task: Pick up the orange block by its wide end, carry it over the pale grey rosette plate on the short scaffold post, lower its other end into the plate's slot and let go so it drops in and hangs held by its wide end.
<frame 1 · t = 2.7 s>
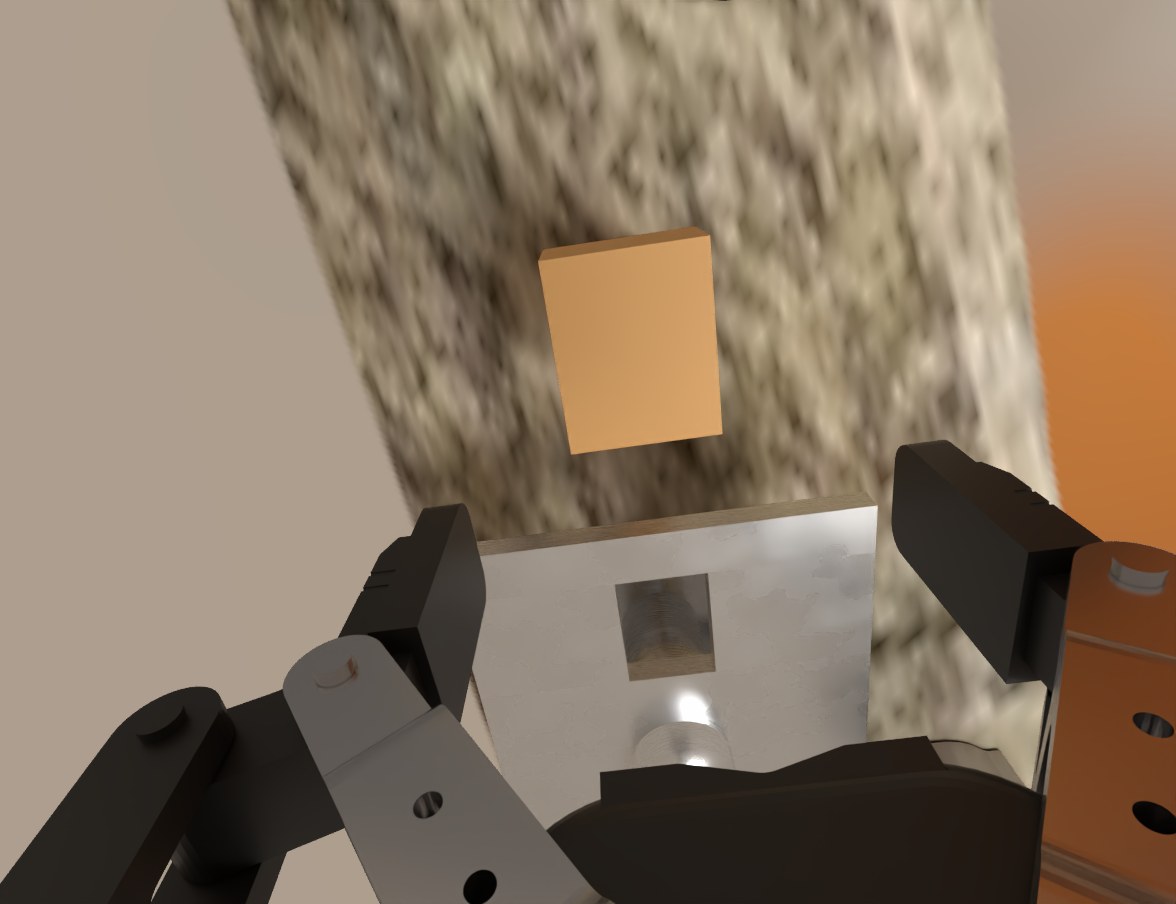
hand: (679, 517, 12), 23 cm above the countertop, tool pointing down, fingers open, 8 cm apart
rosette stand: (658, 613, 42), on the countertop
orange block: (617, 289, 33), on the countertop
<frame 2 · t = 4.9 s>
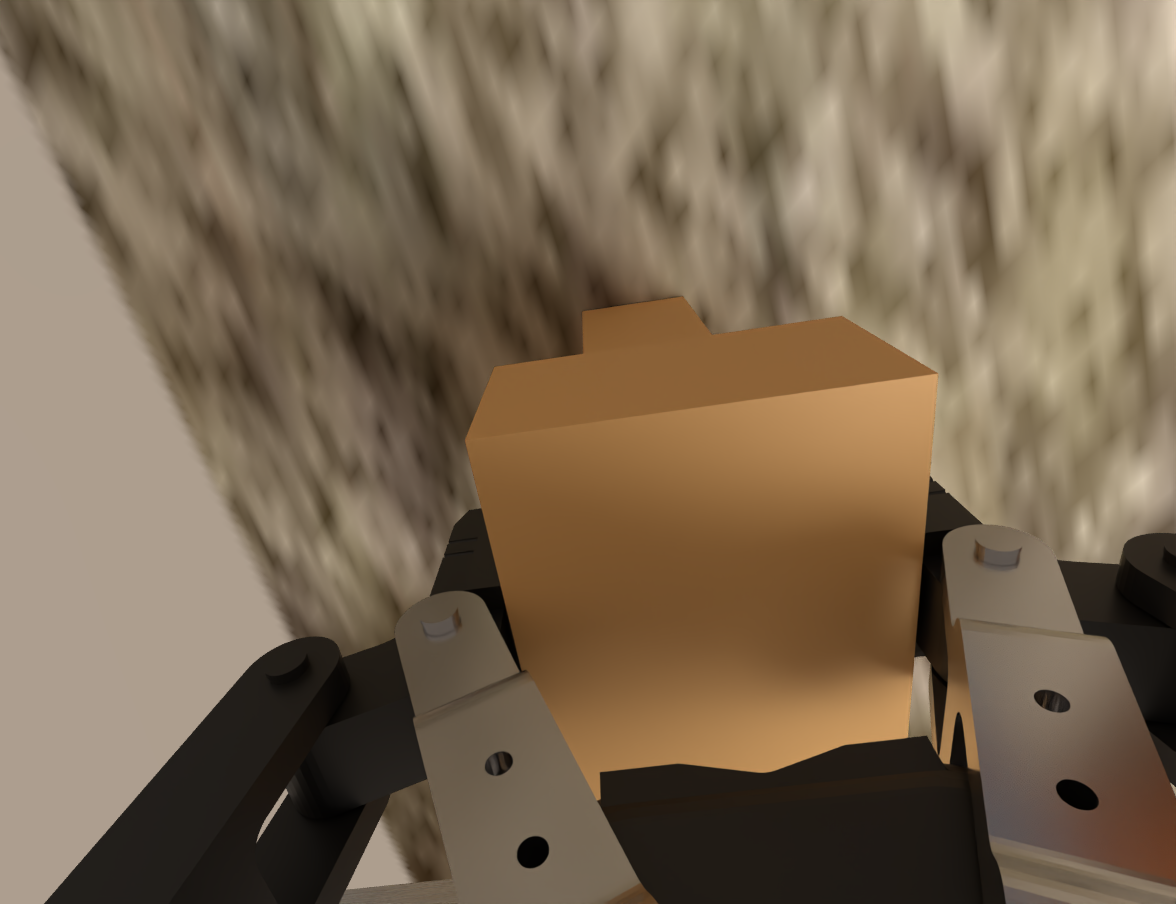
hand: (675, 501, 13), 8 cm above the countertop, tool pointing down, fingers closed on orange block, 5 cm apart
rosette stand: (693, 823, 29), on the countertop
orange block: (640, 376, 20), on the countertop, touching gripper
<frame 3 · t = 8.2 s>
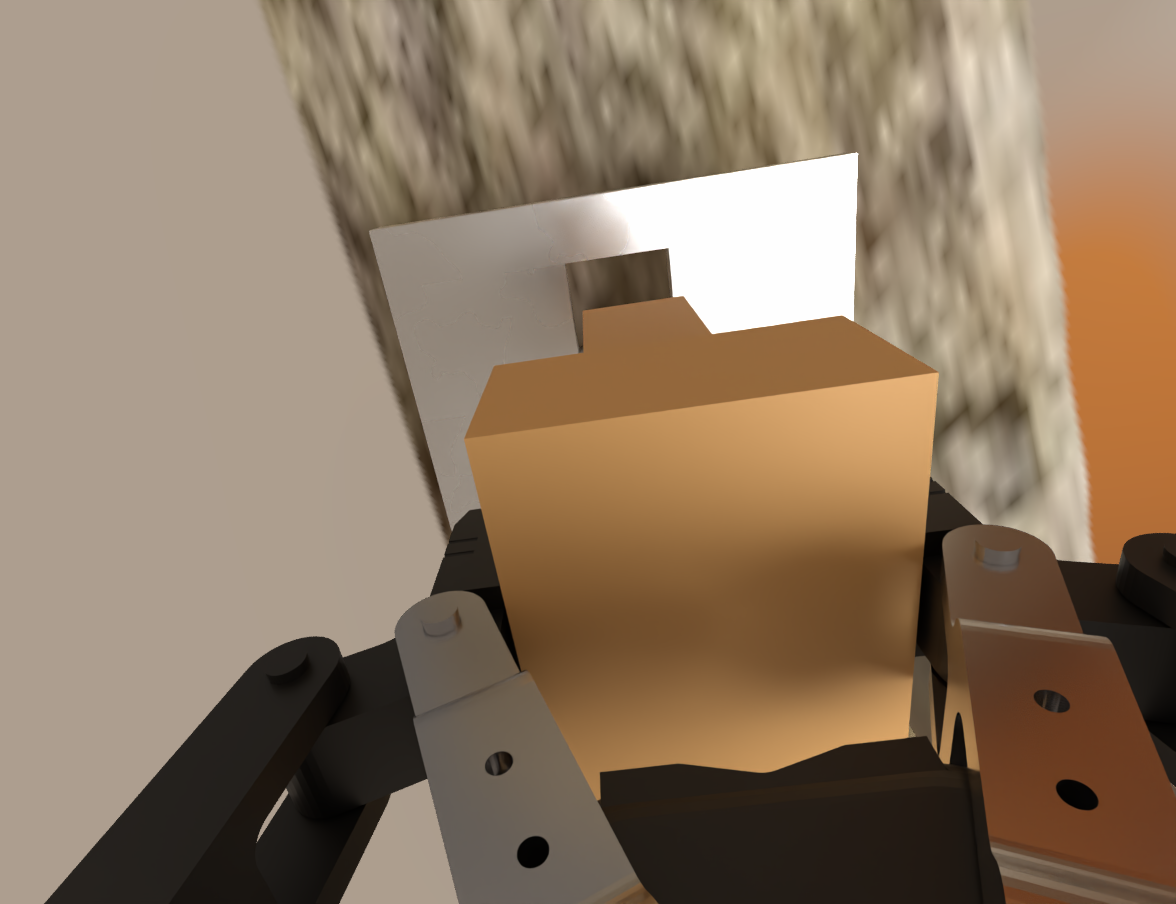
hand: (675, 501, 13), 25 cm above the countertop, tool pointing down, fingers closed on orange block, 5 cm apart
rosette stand: (629, 412, 39), on the countertop
orange block: (641, 375, 20), point 17 cm above the countertop, touching gripper
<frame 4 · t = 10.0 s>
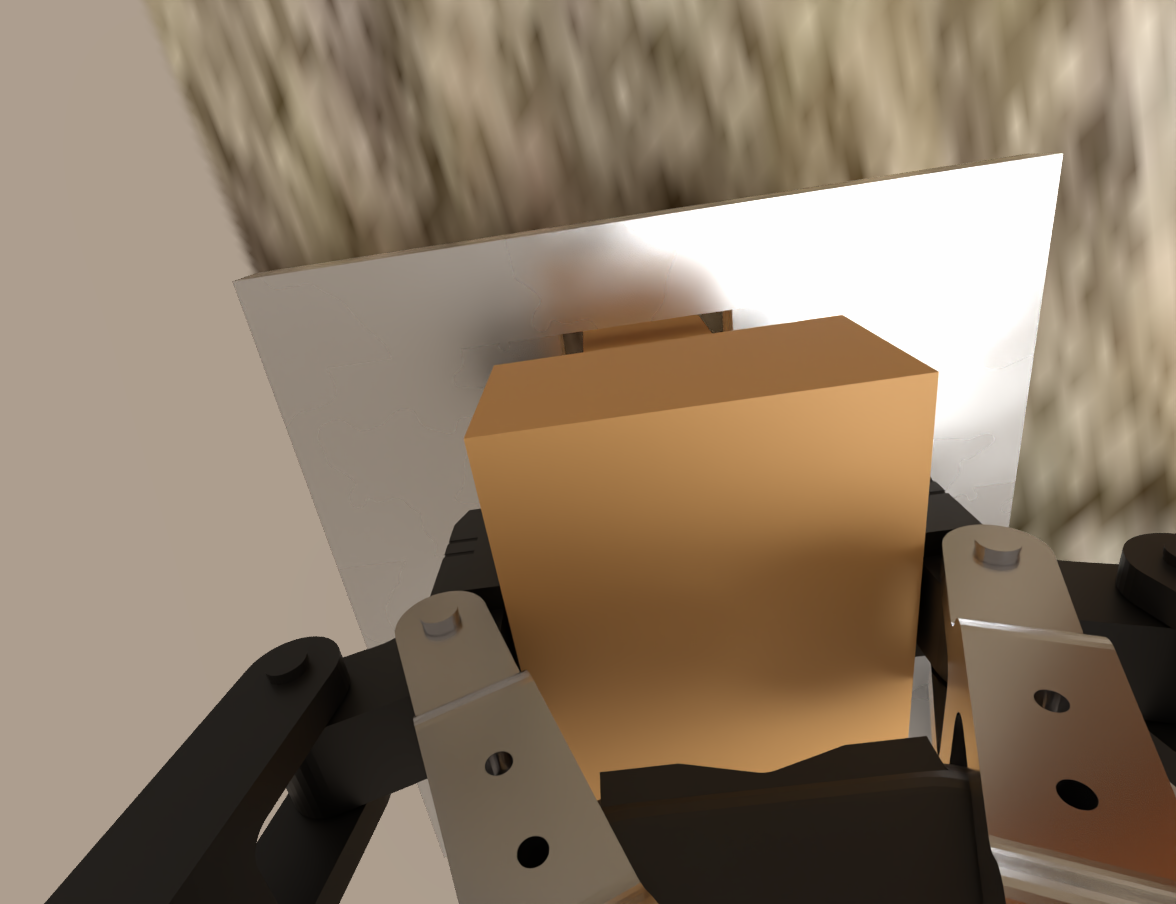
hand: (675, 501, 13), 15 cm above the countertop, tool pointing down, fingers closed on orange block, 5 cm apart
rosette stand: (649, 499, 29), on the countertop
orange block: (641, 375, 20), point 7 cm above the countertop, touching gripper
when the fingers open (12 cm above the countertop, at t = 11.4 s): orange block drops 2 cm, resting on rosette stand.
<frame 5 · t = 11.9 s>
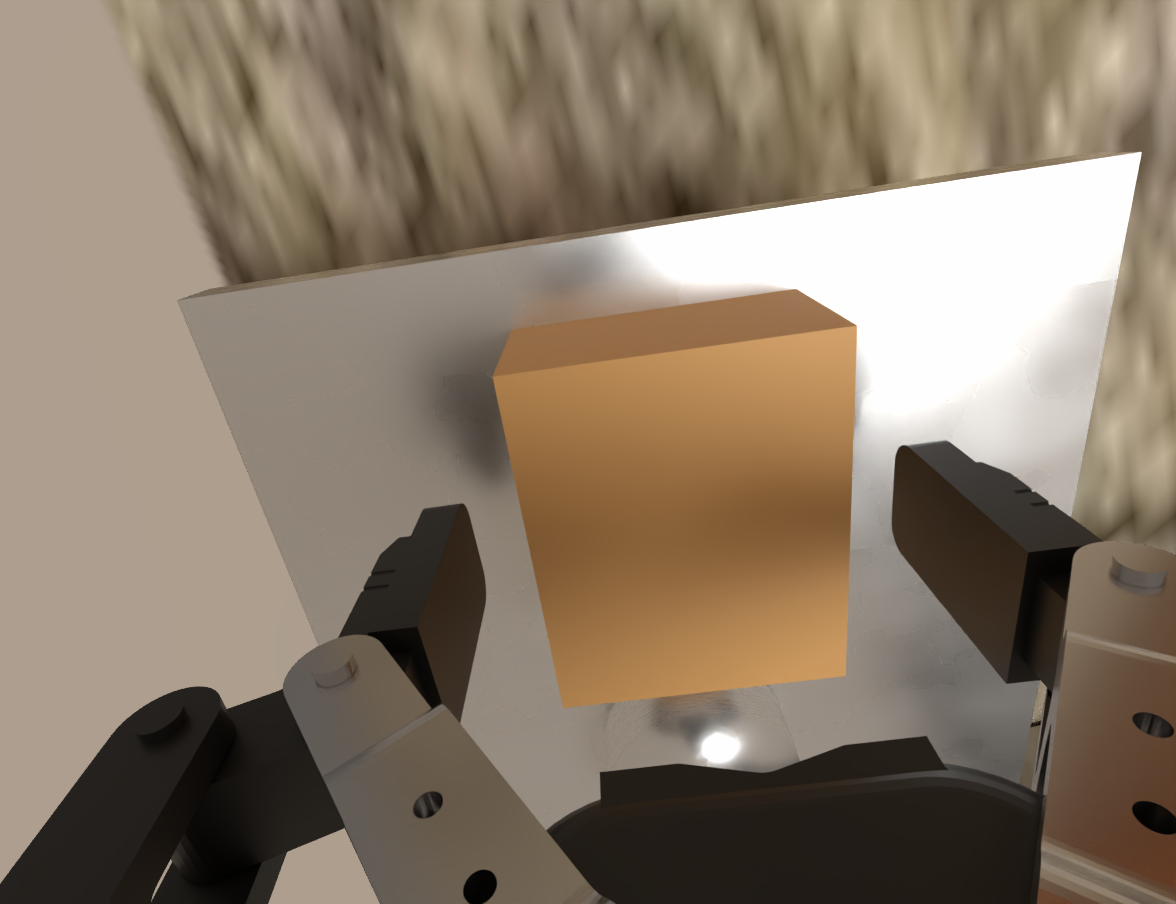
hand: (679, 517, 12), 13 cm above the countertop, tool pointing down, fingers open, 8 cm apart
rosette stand: (652, 521, 27), on the countertop
orange block: (636, 354, 22), point 2 cm above the countertop, touching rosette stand
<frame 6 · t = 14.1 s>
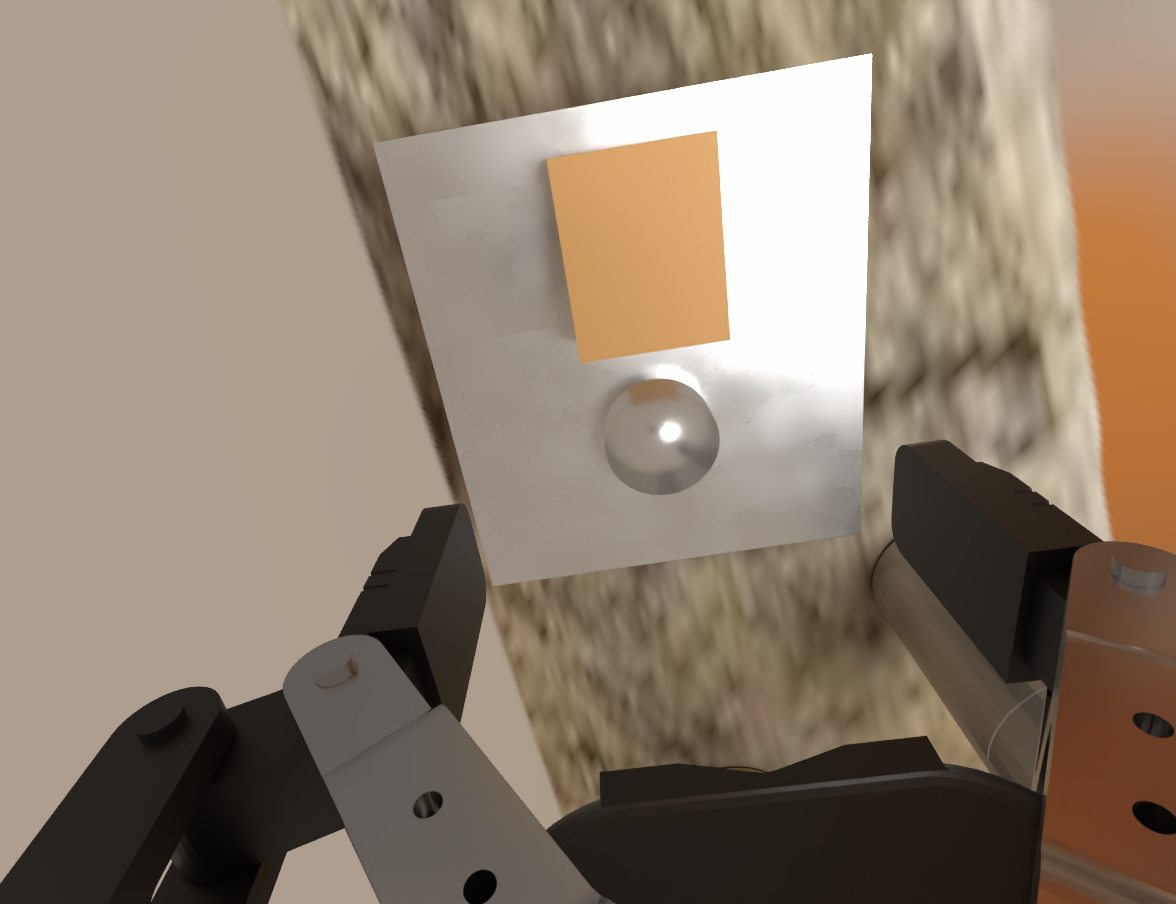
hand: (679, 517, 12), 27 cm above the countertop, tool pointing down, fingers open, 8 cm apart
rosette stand: (636, 357, 38), on the countertop
orange block: (621, 221, 33), point 2 cm above the countertop, touching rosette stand
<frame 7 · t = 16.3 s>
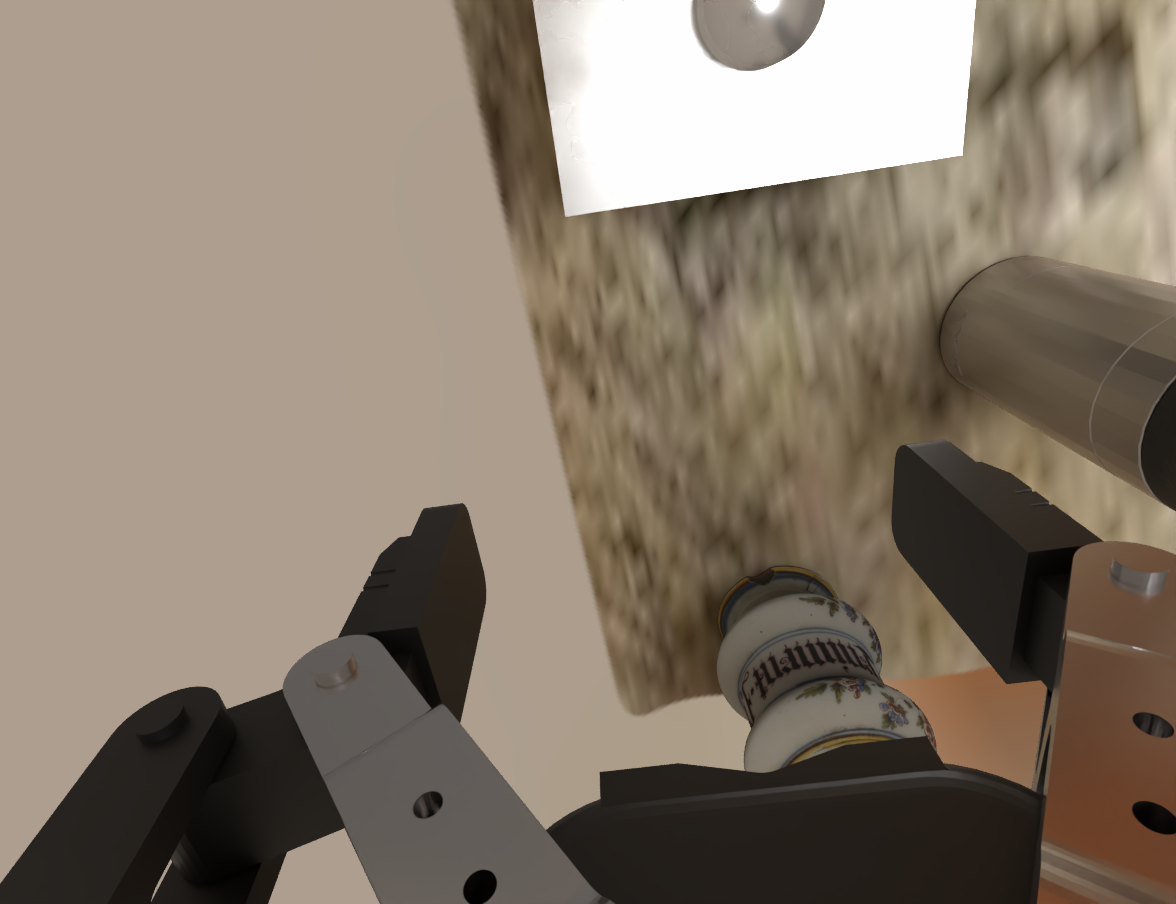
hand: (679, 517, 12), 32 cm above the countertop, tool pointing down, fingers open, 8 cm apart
apothecary jar: (776, 613, 53), on the countertop
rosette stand: (707, 46, 36), on the countertop
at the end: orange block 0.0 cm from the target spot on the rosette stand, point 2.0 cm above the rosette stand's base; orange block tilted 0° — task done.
